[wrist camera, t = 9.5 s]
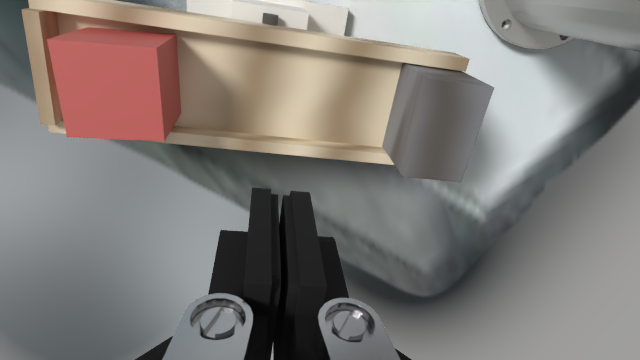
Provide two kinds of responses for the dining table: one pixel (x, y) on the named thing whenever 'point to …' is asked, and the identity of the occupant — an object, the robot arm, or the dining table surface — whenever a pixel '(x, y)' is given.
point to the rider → (117, 83)
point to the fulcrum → (278, 13)
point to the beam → (289, 88)
